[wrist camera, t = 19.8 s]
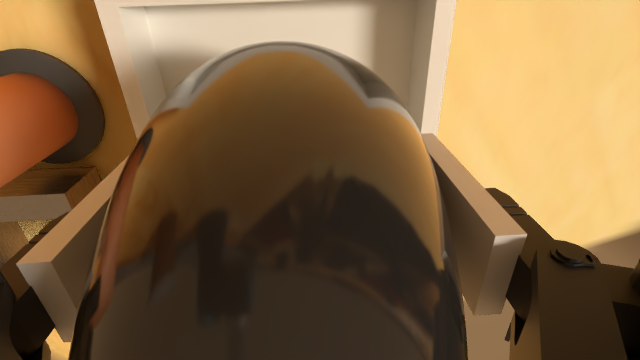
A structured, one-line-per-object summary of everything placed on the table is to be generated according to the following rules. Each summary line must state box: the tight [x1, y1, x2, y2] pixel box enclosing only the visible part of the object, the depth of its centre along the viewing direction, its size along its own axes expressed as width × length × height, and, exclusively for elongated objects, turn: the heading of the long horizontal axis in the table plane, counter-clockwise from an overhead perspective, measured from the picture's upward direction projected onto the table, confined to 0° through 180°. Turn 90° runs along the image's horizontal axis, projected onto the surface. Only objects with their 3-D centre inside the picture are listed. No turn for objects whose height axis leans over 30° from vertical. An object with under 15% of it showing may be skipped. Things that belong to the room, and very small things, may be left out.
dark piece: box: [68, 41, 468, 360], centre depth 10 cm, size 10×10×15 cm
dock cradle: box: [94, 0, 456, 140], centre depth 18 cm, size 14×14×3 cm
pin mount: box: [0, 167, 101, 268], centre depth 20 cm, size 8×7×3 cm
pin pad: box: [0, 49, 105, 163], centre depth 18 cm, size 6×6×1 cm
